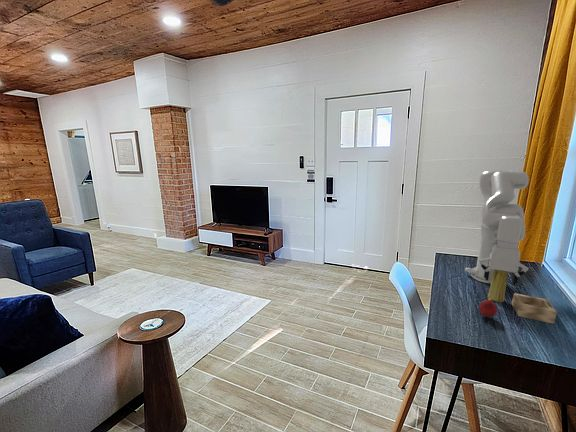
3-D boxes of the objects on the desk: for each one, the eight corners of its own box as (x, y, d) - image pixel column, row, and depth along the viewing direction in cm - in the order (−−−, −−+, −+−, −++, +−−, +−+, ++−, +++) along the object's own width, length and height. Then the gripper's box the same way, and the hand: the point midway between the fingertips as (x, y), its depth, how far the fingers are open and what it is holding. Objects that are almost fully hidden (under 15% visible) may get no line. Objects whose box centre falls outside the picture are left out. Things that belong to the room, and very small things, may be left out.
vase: (502, 297, 126) (508, 268, 123) (505, 303, 120) (512, 273, 117) (486, 294, 128) (491, 265, 125) (489, 300, 123) (494, 270, 120)
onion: (496, 323, 106) (499, 304, 104) (478, 318, 109) (481, 299, 107) (494, 315, 111) (498, 297, 109) (477, 311, 114) (480, 293, 112)
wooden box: (518, 315, 111) (520, 303, 110) (511, 303, 121) (514, 292, 119) (554, 323, 106) (557, 311, 105) (544, 310, 116) (547, 298, 114)
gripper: (483, 243, 119) (477, 280, 122) (535, 250, 111) (527, 289, 115) (481, 239, 126) (475, 274, 129) (529, 245, 118) (522, 283, 121)
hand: (499, 281), depth 122 cm, fingers open, 9 cm apart
